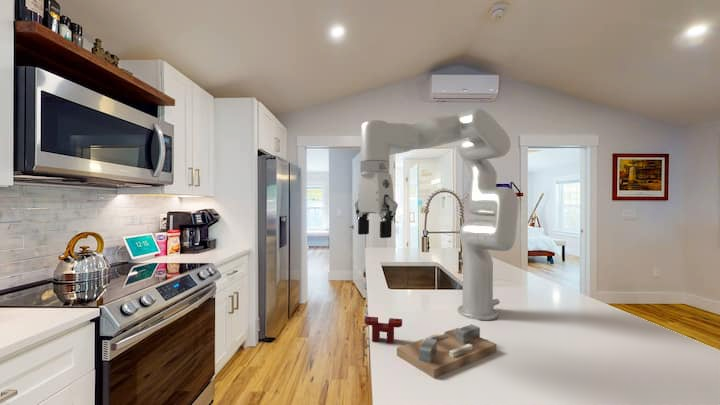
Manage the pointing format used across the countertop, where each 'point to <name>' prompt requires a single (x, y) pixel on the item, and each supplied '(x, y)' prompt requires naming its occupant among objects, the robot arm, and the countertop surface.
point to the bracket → (383, 327)
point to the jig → (447, 350)
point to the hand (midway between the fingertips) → (374, 235)
